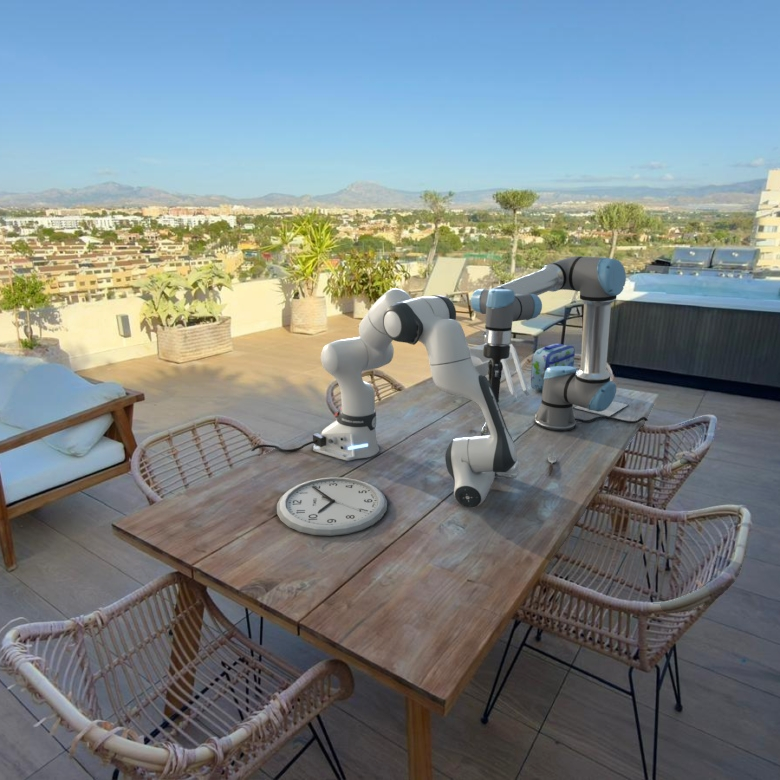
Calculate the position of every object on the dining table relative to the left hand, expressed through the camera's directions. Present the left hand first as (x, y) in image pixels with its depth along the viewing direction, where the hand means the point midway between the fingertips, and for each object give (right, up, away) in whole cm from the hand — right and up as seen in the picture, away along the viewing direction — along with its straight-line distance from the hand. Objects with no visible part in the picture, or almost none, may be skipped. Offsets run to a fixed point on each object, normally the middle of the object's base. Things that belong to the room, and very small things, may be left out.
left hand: (488, 453), depth 163 cm
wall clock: (-46, -12, -20) cm, 52 cm away
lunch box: (+47, +21, +89) cm, 103 cm away
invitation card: (+61, +13, +64) cm, 89 cm away
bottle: (0, -6, +1) cm, 6 cm away
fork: (+21, -5, +6) cm, 22 cm away
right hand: (0, +11, -4) cm, 12 cm away
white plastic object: (+11, +19, +81) cm, 83 cm away
